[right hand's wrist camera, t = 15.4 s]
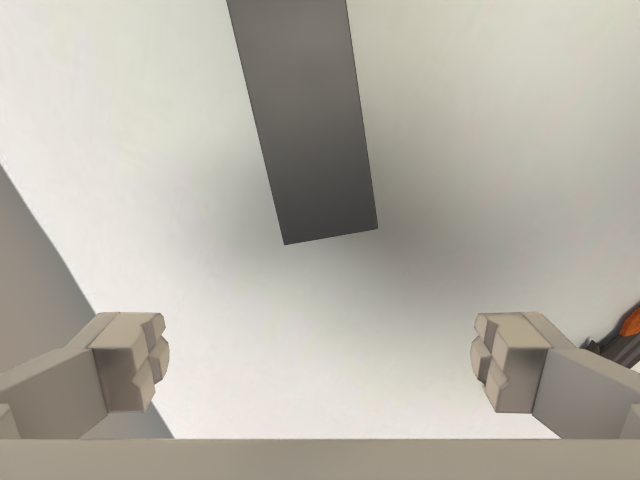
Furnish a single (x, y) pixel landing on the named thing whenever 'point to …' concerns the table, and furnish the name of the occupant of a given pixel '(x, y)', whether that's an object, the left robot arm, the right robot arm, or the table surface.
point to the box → (307, 114)
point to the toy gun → (623, 343)
